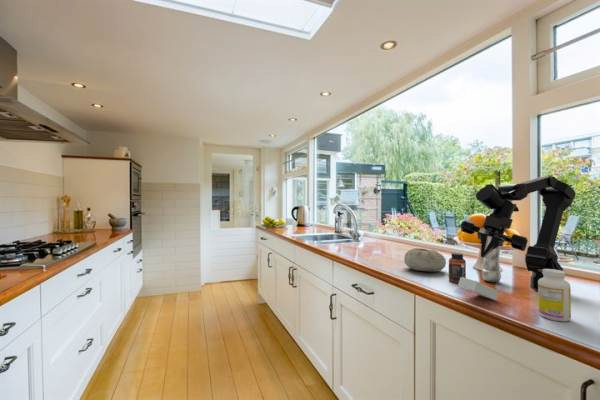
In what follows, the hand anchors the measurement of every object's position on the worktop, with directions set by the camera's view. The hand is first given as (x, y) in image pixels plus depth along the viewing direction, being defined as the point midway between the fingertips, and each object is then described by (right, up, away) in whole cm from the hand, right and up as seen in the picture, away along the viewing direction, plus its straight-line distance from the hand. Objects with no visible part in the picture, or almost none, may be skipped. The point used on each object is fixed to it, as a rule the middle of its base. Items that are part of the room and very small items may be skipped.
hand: (482, 257), depth 92 cm
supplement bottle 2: (+10, -14, -16) cm, 23 cm away
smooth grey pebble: (-2, -14, +38) cm, 41 cm away
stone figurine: (+17, -14, +20) cm, 30 cm away
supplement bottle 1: (+2, -14, +19) cm, 24 cm away
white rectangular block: (+2, -12, +1) cm, 12 cm away
